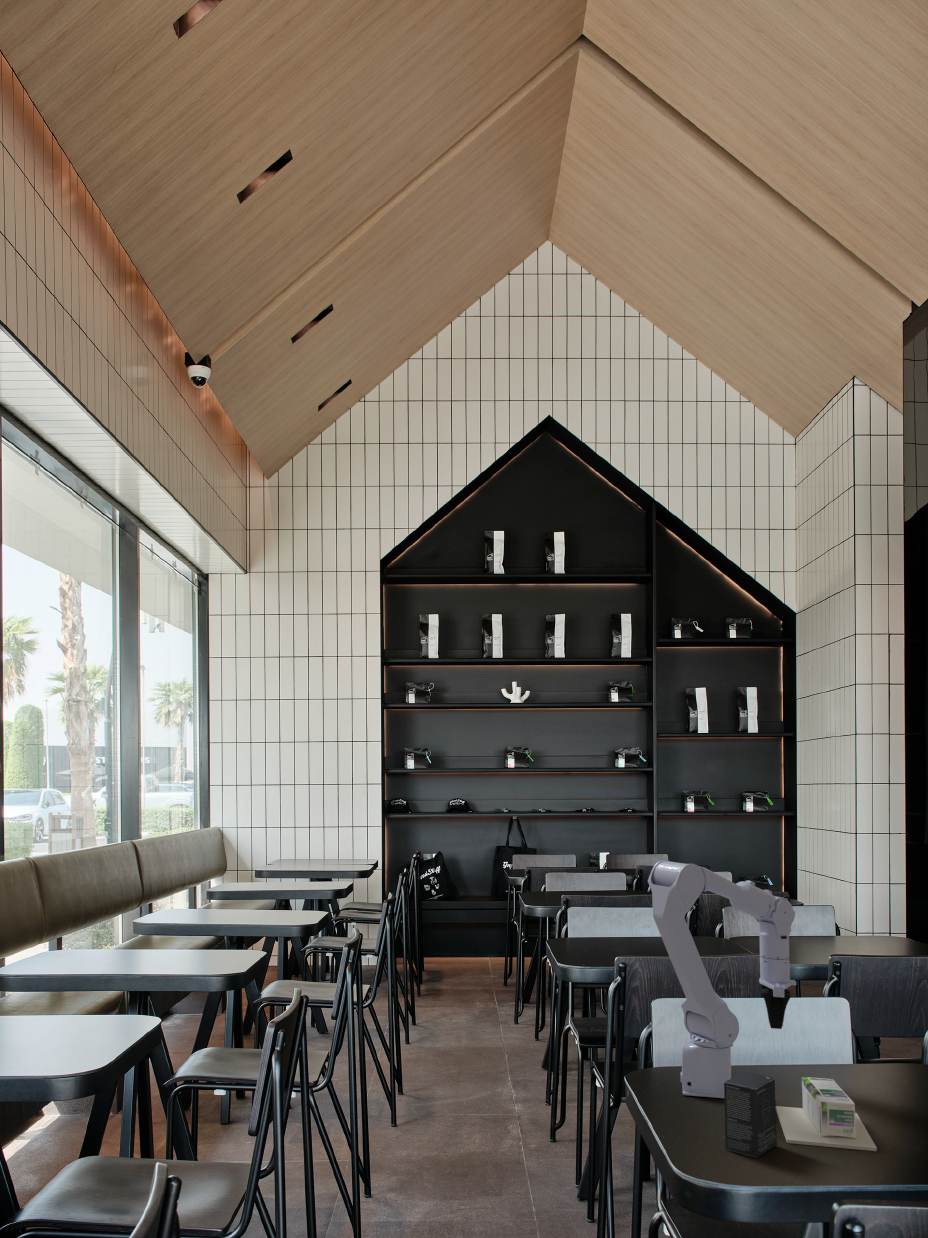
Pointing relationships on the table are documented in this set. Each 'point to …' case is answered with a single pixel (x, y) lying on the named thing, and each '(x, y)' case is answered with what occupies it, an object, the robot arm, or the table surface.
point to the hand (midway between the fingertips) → (776, 1028)
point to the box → (750, 1114)
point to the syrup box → (828, 1107)
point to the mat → (805, 1132)
